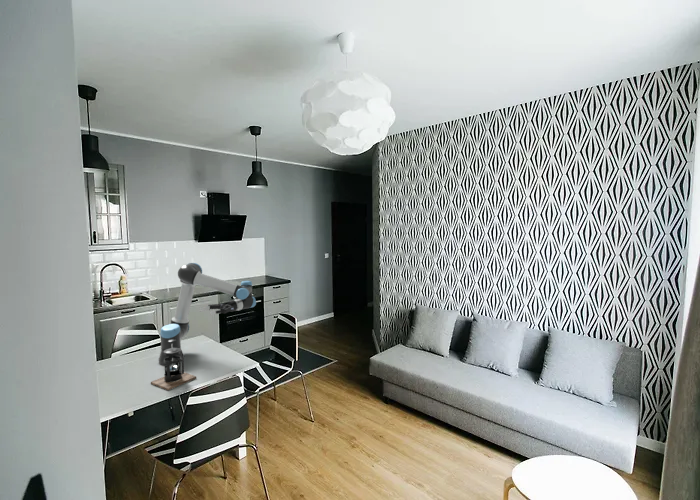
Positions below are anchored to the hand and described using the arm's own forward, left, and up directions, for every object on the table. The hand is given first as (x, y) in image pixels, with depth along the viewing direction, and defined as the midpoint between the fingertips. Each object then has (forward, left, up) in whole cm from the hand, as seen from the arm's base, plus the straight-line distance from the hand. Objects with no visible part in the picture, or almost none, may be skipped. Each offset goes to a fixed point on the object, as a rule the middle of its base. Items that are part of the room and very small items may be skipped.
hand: (205, 311), depth 232 cm
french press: (+4, -26, -34) cm, 43 cm away
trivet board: (+5, -26, -35) cm, 44 cm away
